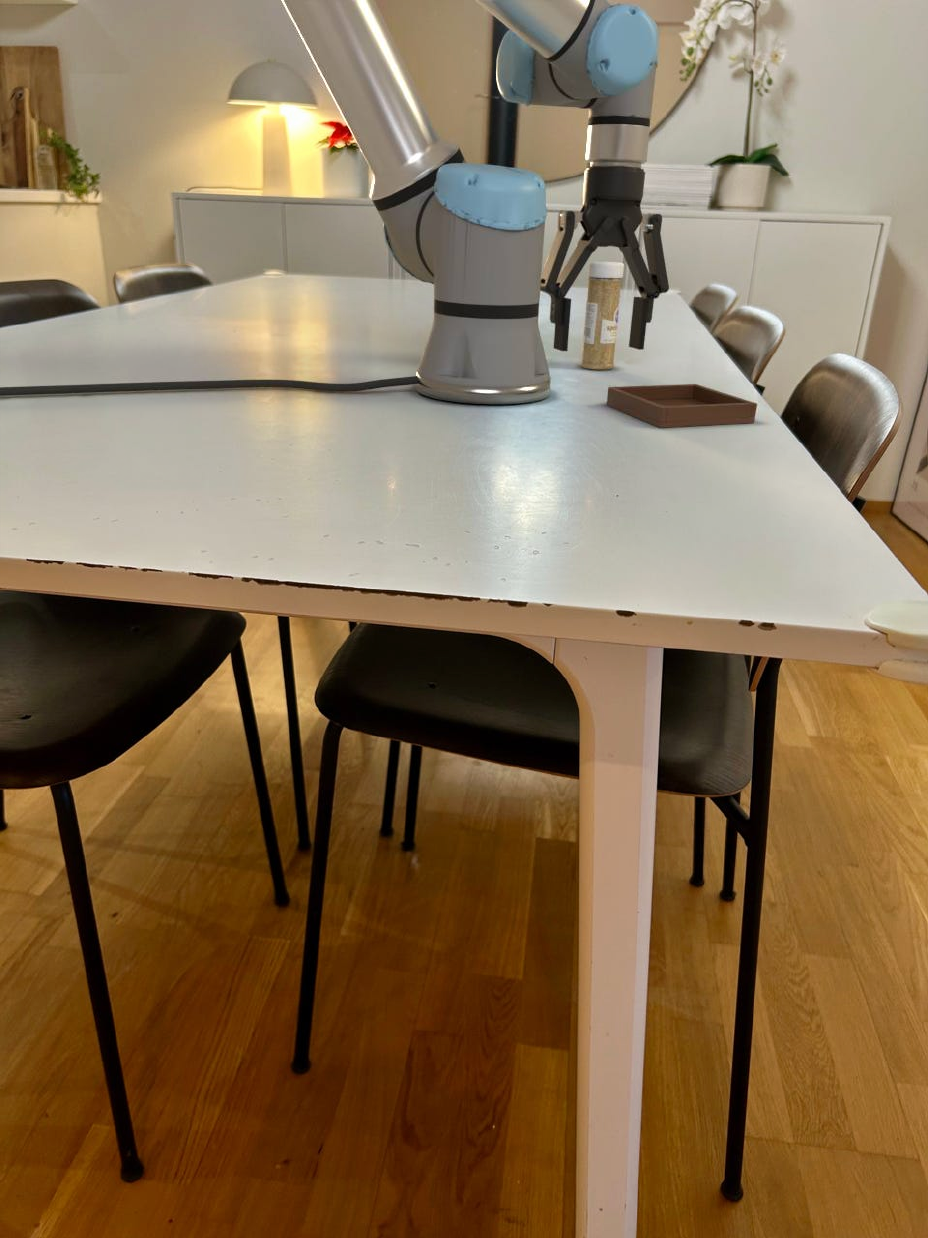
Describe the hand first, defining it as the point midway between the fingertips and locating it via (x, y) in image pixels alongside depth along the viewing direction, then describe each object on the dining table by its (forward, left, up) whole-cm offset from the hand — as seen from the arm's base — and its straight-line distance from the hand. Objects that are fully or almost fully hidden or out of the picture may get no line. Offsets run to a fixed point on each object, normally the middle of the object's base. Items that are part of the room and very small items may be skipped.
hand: (598, 348), depth 121 cm
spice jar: (0, 0, -3) cm, 3 cm away
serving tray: (-6, -29, -2) cm, 30 cm away
